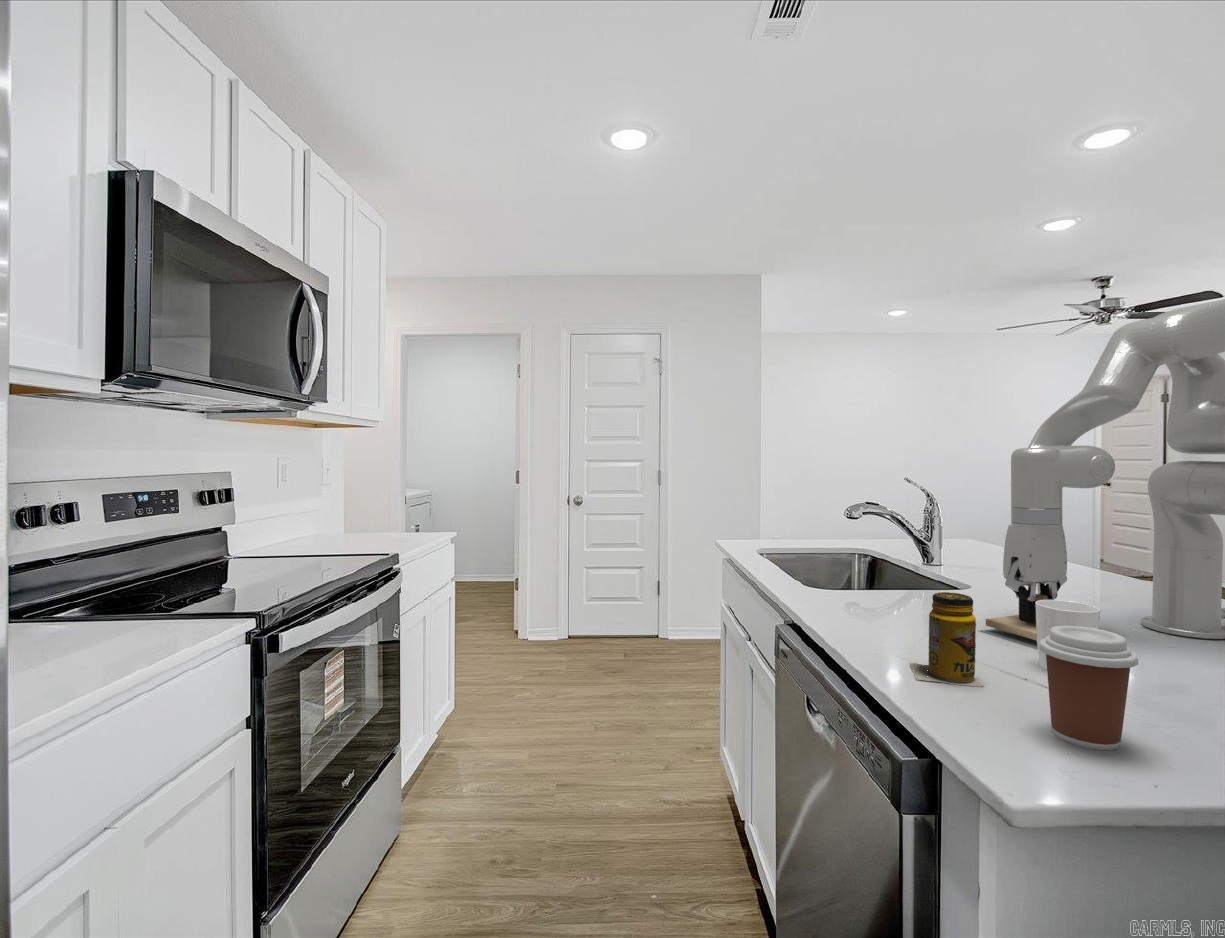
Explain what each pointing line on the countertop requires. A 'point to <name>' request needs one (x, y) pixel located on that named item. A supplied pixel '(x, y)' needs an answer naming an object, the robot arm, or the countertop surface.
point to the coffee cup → (1087, 685)
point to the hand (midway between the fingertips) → (1036, 620)
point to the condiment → (950, 641)
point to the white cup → (1062, 619)
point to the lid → (1016, 623)
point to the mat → (1011, 637)
